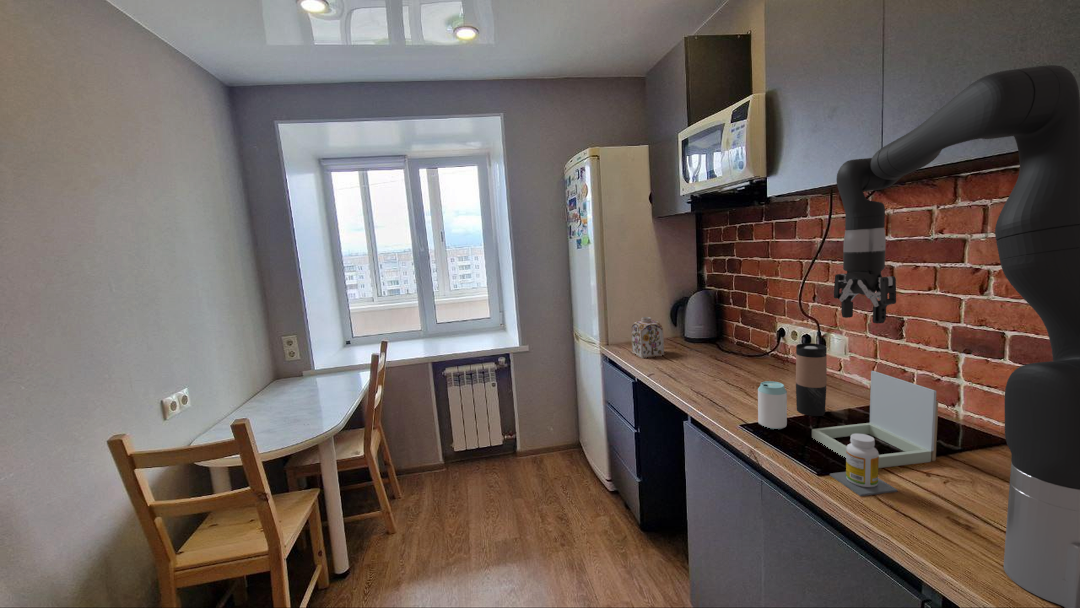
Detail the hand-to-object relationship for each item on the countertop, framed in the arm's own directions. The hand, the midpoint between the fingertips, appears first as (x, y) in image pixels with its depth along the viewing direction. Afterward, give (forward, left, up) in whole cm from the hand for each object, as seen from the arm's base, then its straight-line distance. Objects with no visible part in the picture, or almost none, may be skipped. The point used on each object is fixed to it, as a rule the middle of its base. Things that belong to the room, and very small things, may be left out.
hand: (862, 320), depth 97 cm
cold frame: (0, -2, -32) cm, 32 cm away
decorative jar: (+104, +16, -32) cm, 110 cm away
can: (+18, +10, -32) cm, 38 cm away
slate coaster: (-12, +10, -32) cm, 36 cm away
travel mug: (+24, -6, -32) cm, 41 cm away
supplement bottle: (-12, +10, -32) cm, 36 cm away
